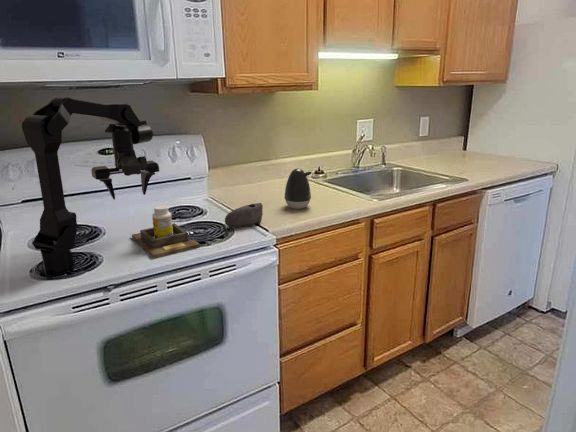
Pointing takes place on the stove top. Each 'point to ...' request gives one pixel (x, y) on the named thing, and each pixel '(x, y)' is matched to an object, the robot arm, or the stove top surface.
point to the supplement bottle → (162, 222)
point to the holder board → (164, 242)
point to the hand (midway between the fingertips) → (129, 196)
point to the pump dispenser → (297, 189)
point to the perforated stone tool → (245, 215)
